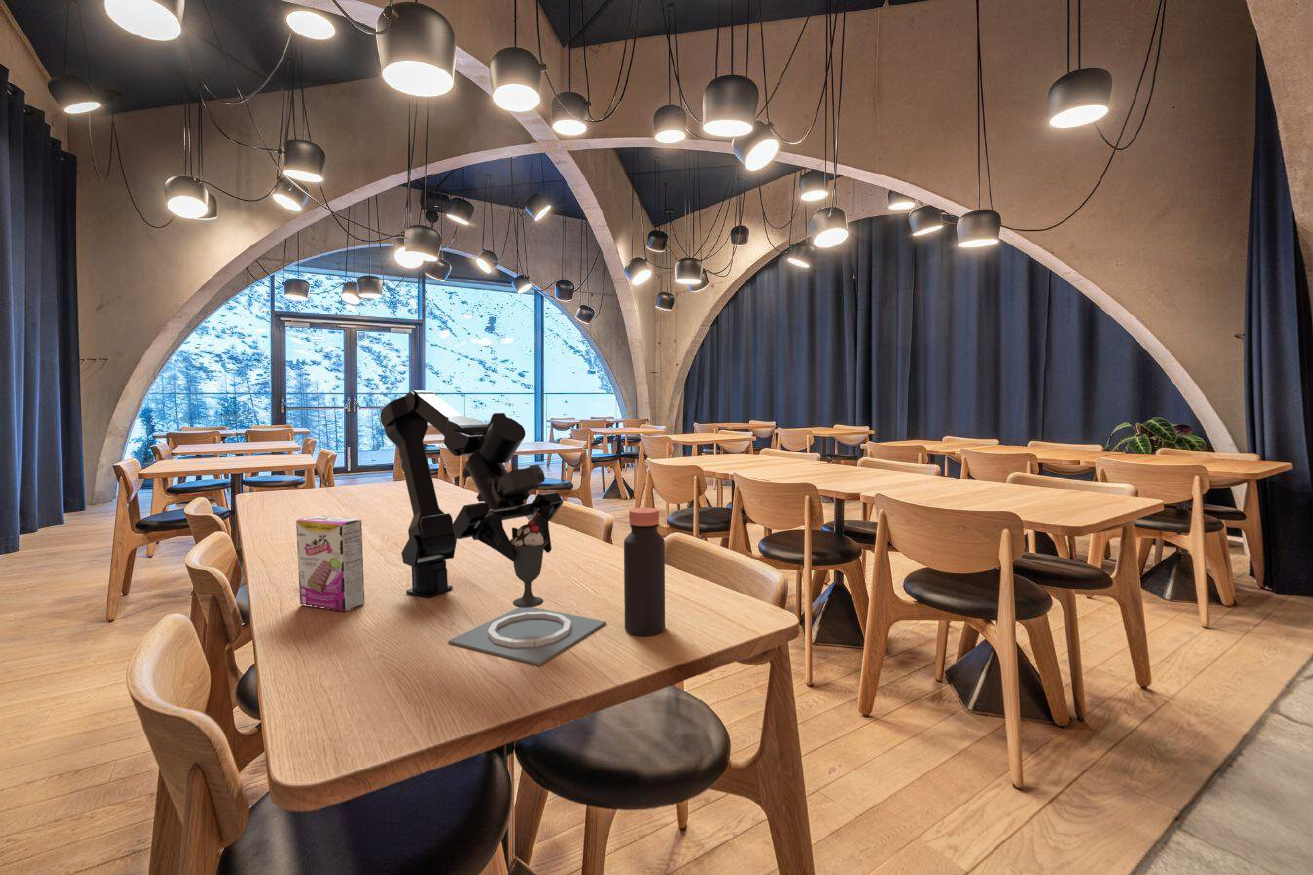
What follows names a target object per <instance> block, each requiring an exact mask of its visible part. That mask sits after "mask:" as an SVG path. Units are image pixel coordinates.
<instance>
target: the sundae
mask: <svg viewBox="0 0 1313 875" xmlns="http://www.w3.org/2000/svg"><path fill="white" fill-rule="evenodd" d="M536 515H538V516H539V515H540V513H538V512H537V514H536ZM536 515H535V516H536ZM535 516H534V517H535ZM538 516H536V517H535V519H536V518H537V517H538ZM534 517H533V519H534ZM533 519H532V521H529V520H528V522H527V524H523V525H522V526H520V527H519V528H517V527H512V528H511V539H509V540H510V542H511V544H512V546H513V548H514V550H515V553H516V555H517V559H516V560H515V561H512V563H513V568H514V572H515V576H516V577H517V578H518V579H519V580H520V581H522V582H523V584H524V592H523V595H522V596H521V597H518V598H516V599H514V600H513V601H512V605H513V606H515V607H517V608H519V607H521V608H529V607H534V608H536V607H538V606H541V605H542V604H543V603H544V602H545V601H544V599H543V598H542V597H539V596H535V595H534V594H533V590H532V587H533V586H532V585H533V584H532V583H533V581H535V580H536V579H537V578H538V577H539V575H540V573H541V570H542V564H543V556H544V555H543V554H544V551H545V550H544V546H546V545H547V543H548V539H543V536H542V534H541V533H540V532H539V531H538V526H535V519H534V522H533Z"/></svg>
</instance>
